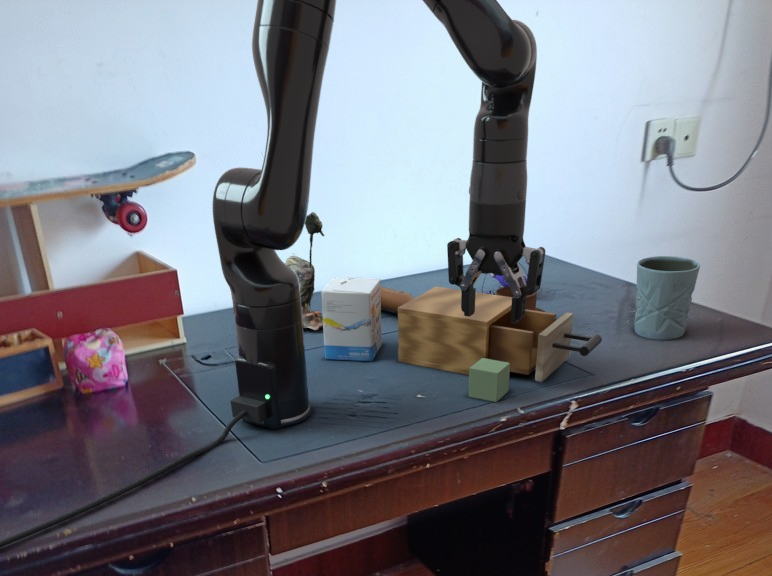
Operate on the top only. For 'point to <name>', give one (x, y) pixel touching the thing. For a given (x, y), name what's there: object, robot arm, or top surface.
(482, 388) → the block
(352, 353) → the ink box
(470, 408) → the top surface
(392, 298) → the sunglasses case
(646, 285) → the drinking glass
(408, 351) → the cabinet
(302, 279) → the plant with pod
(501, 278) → the game controller
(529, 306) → the cup and saucer
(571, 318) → the drawer
